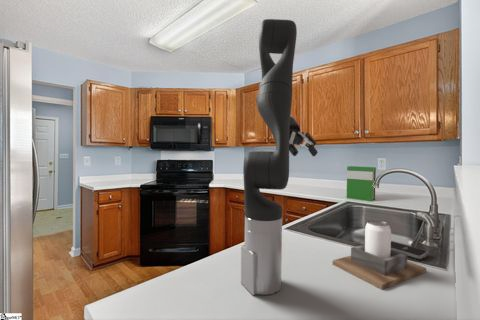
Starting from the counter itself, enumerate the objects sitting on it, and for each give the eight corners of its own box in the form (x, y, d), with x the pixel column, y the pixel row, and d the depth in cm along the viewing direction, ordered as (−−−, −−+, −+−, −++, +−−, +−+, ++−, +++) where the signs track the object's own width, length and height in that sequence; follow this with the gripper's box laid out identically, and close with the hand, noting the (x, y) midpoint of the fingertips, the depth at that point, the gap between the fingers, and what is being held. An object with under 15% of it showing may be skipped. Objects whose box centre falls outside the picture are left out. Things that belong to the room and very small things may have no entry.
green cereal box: (374, 200, 178) (375, 167, 177) (372, 201, 172) (372, 167, 172) (349, 196, 190) (350, 166, 189) (346, 198, 184) (347, 166, 184)
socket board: (381, 289, 59) (382, 269, 59) (332, 264, 72) (333, 247, 72) (426, 272, 68) (426, 254, 68) (375, 252, 82) (375, 237, 81)
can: (367, 257, 75) (368, 218, 75) (391, 263, 71) (392, 222, 70) (362, 264, 70) (362, 222, 70) (388, 271, 66) (389, 227, 65)
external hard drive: (420, 262, 75) (420, 256, 75) (382, 250, 84) (382, 245, 84) (428, 257, 79) (428, 251, 79) (391, 246, 88) (391, 241, 88)
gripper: (274, 114, 87) (294, 146, 77) (305, 117, 93) (327, 147, 83) (265, 130, 92) (284, 162, 82) (295, 132, 98) (315, 161, 88)
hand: (306, 154), depth 82 cm, fingers open, 8 cm apart
